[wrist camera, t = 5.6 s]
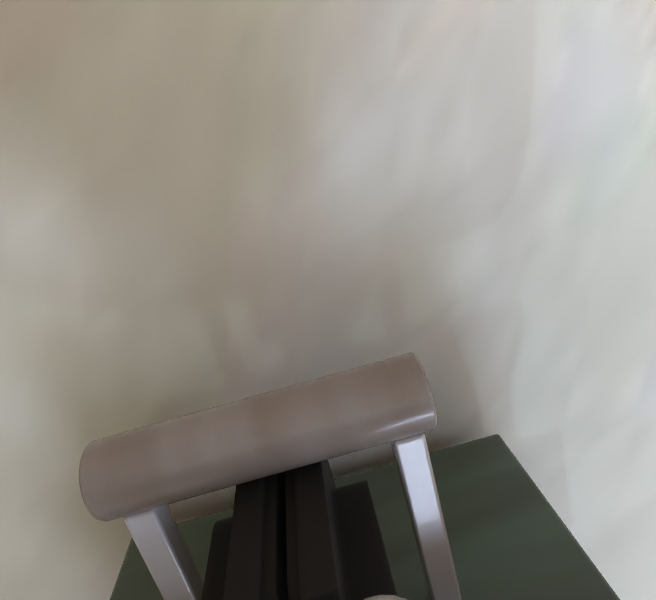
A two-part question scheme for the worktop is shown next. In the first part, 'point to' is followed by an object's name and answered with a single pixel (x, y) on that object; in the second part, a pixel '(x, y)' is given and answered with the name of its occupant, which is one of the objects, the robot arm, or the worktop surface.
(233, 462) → the drawer
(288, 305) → the worktop surface
